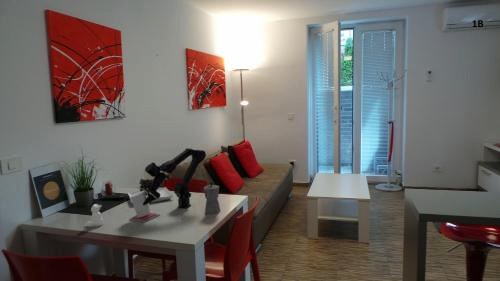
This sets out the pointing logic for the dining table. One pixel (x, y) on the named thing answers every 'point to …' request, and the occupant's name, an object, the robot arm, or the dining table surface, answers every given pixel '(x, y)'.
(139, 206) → the supplement box
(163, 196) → the square plate
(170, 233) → the dining table surface
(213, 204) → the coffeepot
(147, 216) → the ink pad tray
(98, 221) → the sitting furry creature
